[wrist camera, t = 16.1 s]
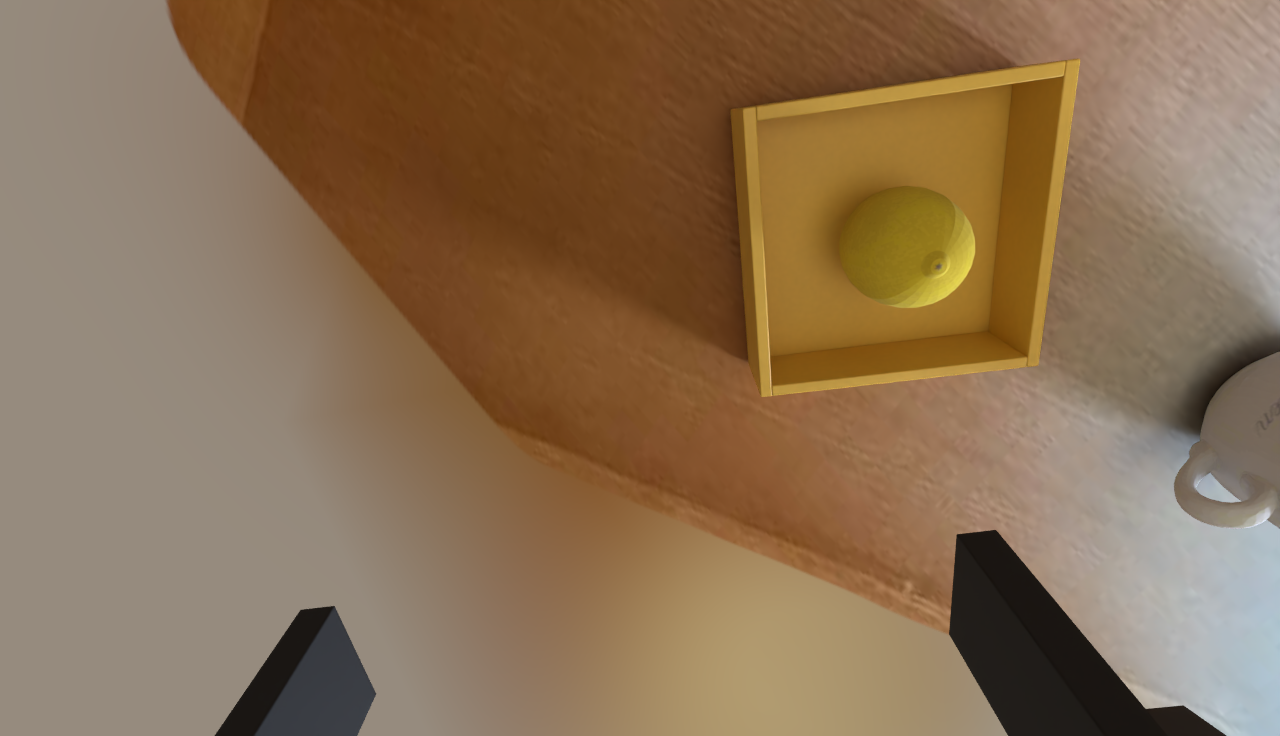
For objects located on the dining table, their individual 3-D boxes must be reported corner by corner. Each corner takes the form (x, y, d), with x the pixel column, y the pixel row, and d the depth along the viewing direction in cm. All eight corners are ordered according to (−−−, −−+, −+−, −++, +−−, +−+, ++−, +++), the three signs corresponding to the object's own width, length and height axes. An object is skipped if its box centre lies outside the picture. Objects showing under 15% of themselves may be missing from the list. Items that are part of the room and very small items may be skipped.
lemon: (889, 154, 30) (965, 168, 23) (946, 236, 32) (1033, 273, 25) (800, 227, 32) (845, 261, 25) (858, 301, 33) (916, 355, 26)
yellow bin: (748, 363, 36) (761, 397, 32) (730, 109, 30) (742, 108, 26) (992, 335, 35) (1039, 366, 30) (1019, 66, 29) (1081, 58, 25)
